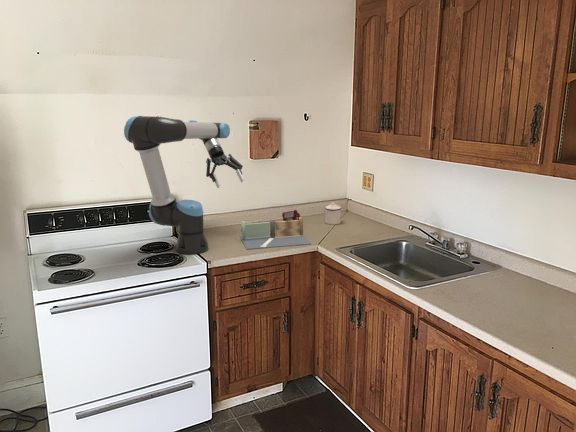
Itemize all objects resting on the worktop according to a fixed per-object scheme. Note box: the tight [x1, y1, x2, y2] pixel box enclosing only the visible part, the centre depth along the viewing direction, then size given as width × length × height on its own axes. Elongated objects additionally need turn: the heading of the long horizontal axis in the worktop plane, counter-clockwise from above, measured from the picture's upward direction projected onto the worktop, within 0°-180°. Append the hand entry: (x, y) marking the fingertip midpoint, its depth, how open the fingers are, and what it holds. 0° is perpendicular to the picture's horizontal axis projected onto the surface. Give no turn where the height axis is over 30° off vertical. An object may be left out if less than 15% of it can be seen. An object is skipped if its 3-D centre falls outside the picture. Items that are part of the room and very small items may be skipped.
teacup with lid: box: [324, 202, 342, 226], centre depth 286 cm, size 12×9×12 cm
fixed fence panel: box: [269, 216, 304, 238], centre depth 258 cm, size 17×2×10 cm, turn 104°
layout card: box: [239, 232, 312, 251], centre depth 254 cm, size 32×22×1 cm
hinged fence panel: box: [240, 220, 270, 239], centre depth 254 cm, size 14×2×9 cm, turn 104°
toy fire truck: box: [281, 209, 302, 221], centre depth 273 cm, size 7×12×10 cm, turn 127°
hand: (230, 183), depth 256 cm, fingers open, 13 cm apart
